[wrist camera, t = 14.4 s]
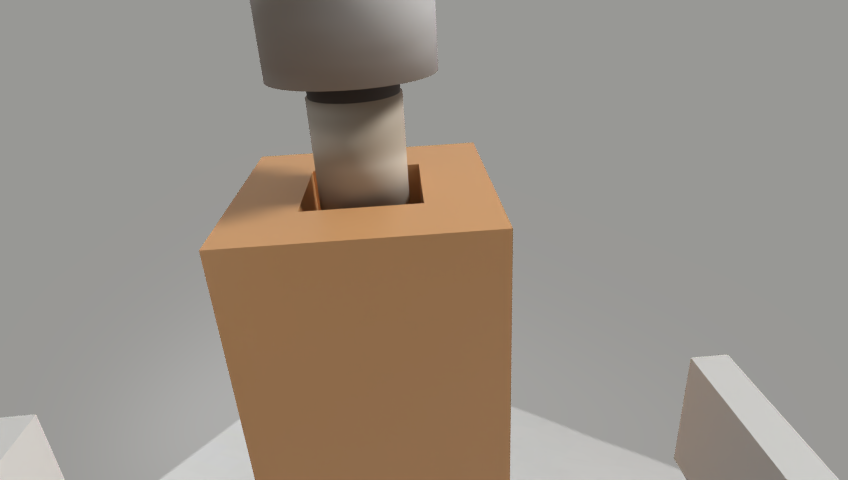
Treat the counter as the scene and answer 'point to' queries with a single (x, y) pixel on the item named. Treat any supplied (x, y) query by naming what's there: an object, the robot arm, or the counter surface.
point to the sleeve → (368, 323)
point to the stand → (350, 86)
